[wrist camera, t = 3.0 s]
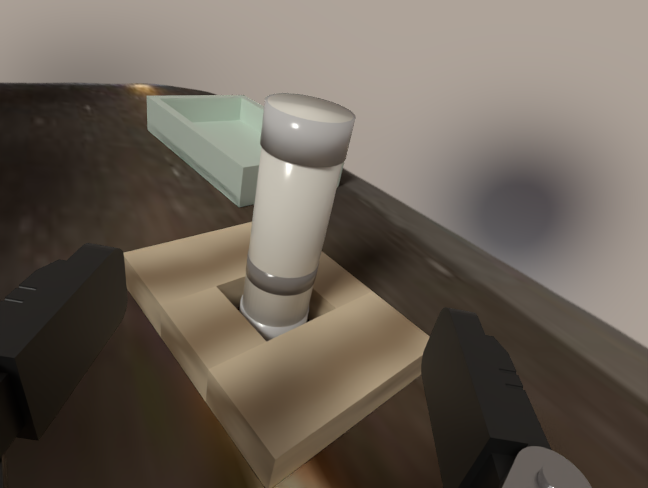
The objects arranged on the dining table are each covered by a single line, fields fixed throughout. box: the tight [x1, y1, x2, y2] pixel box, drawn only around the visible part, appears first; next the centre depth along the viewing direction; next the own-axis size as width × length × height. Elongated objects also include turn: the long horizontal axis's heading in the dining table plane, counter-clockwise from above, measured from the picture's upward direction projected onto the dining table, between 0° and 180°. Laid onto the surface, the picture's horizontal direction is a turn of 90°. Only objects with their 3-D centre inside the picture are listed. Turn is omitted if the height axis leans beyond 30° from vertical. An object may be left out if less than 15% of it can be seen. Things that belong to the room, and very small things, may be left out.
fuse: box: [239, 93, 355, 342], centre depth 23 cm, size 4×4×14 cm
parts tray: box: [147, 95, 344, 207], centre depth 47 cm, size 20×13×4 cm, turn 42°
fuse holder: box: [123, 222, 429, 488], centre depth 26 cm, size 16×12×2 cm
